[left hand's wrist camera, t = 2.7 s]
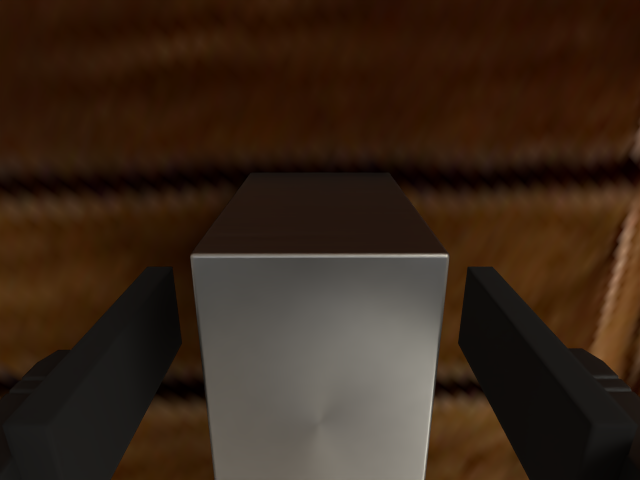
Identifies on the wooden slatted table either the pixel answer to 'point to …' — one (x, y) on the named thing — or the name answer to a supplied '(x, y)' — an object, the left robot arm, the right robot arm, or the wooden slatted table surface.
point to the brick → (319, 329)
